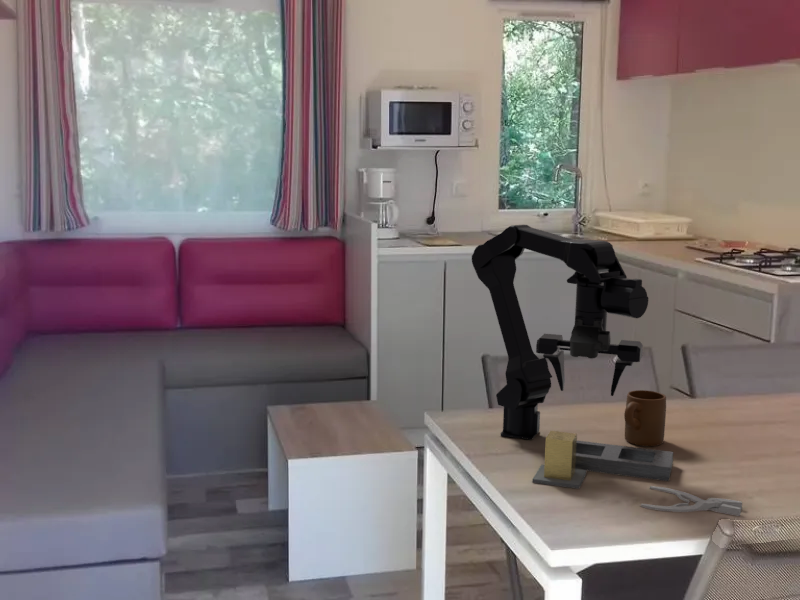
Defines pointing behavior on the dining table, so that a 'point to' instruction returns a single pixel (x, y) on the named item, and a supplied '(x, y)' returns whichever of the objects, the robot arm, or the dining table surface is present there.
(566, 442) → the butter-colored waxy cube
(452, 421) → the dining table surface
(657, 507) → the pliers
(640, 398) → the mug
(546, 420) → the dining table surface
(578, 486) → the pad
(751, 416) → the dining table surface
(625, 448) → the grey flat frame
